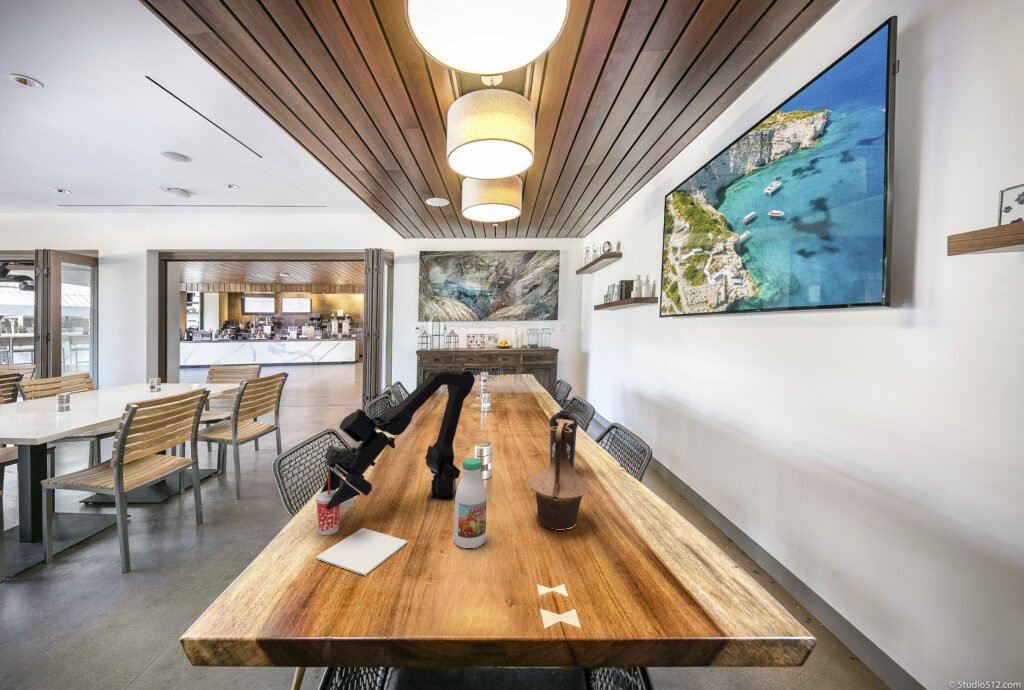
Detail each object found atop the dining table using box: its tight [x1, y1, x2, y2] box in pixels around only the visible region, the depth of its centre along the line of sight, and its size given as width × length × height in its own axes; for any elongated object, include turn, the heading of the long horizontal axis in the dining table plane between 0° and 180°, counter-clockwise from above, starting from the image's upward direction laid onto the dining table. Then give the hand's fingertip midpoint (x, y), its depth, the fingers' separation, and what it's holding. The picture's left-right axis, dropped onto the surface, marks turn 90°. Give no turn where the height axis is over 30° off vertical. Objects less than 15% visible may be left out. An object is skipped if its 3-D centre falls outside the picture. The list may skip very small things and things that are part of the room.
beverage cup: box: [315, 475, 341, 536], centre depth 98 cm, size 6×6×14 cm
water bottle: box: [548, 409, 579, 471], centre depth 141 cm, size 10×10×23 cm
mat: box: [315, 527, 409, 577], centre depth 89 cm, size 14×14×1 cm
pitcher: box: [527, 419, 591, 529], centre depth 106 cm, size 18×17×28 cm
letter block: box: [335, 489, 355, 510], centre depth 112 cm, size 5×5×5 cm
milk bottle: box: [453, 457, 488, 549], centre depth 95 cm, size 8×8×20 cm
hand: (322, 504), depth 97 cm, fingers closed on beverage cup, 6 cm apart
